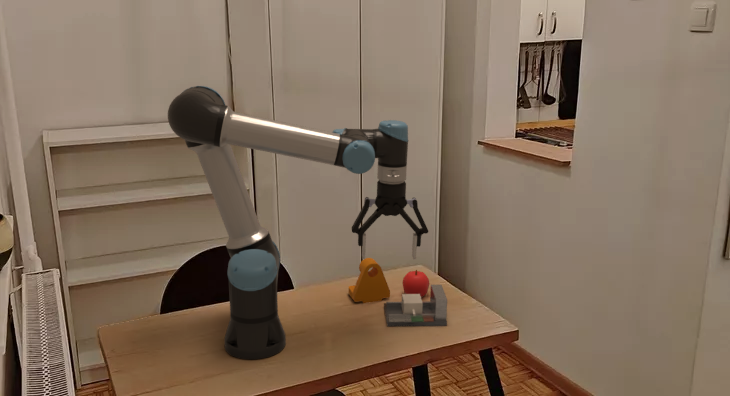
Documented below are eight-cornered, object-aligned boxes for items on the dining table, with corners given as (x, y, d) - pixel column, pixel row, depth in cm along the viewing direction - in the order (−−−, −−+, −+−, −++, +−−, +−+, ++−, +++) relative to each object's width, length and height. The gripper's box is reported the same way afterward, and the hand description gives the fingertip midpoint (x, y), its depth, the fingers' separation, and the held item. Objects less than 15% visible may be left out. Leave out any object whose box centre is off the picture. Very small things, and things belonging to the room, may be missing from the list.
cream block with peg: (404, 321, 177) (405, 307, 176) (401, 307, 185) (401, 294, 184) (423, 321, 177) (424, 307, 176) (419, 307, 185) (419, 293, 184)
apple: (415, 287, 202) (416, 263, 200) (434, 296, 196) (435, 270, 194) (396, 294, 197) (397, 269, 195) (415, 303, 191) (416, 277, 189)
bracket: (381, 290, 200) (382, 252, 196) (390, 299, 193) (390, 261, 190) (347, 294, 196) (347, 256, 193) (354, 304, 190) (355, 265, 186)
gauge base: (387, 326, 177) (387, 301, 175) (383, 307, 188) (384, 283, 186) (446, 325, 177) (447, 301, 175) (439, 306, 189) (440, 283, 187)
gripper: (343, 183, 167) (342, 262, 173) (441, 184, 169) (437, 262, 174) (343, 176, 174) (342, 252, 180) (437, 177, 176) (432, 252, 182)
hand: (388, 257), depth 177 cm, fingers open, 13 cm apart
